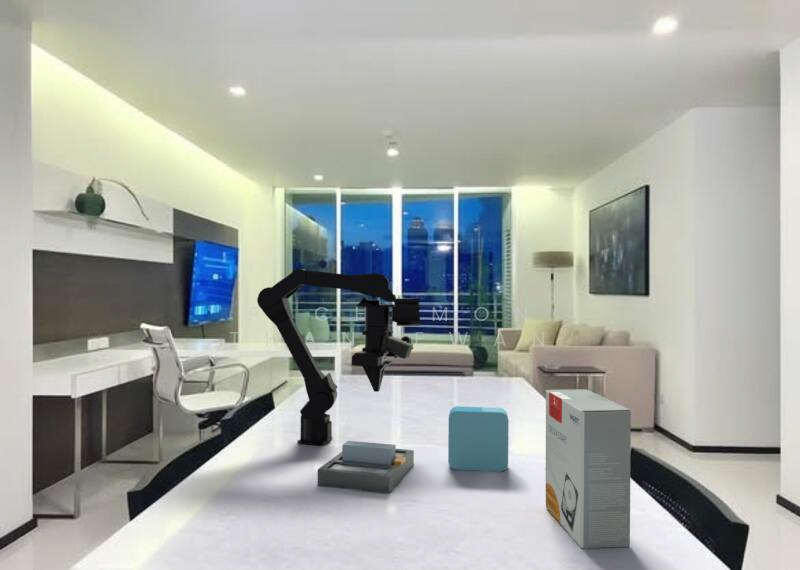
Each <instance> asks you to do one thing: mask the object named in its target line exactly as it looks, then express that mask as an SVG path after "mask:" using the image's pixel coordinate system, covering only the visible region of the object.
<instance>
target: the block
mask: <svg viewBox="0 0 800 570" xmlns="http://www.w3.org/2000/svg"><path fill="white" fill-rule="evenodd" d="M396 446H397V445H396V444H388V443H377V442H368V441H367V442H366V441H354V440H347V441H345V442H344V443H343V444H342V449H341V450H342V451H341V452H342V460H345V461H355V462H365V463H376V464H386V465H394V464H393V461H394V460H395V457H396V449H397V447H396Z"/></svg>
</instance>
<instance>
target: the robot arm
mask: <svg viewBox="0 0 800 570" xmlns="http://www.w3.org/2000/svg"><path fill="white" fill-rule="evenodd" d="M303 286H311V287H312V286H313V287H318V288H319V287H322V288H328V289H329V288H330V289H339V290H346V291H352V292H354V293H359V294H362V295H365V296H363V297H362V299H361V301H359V302H358V303H356V306H357V307H358V308H365V309H364V313H365V315H364V317H365V318H364V330H362V333H361V334H362V336H364V347H362V349H361V350H359V351H357V352H355V353H354V354H353V355H352V356H351V366H358V367H359V366H361V367H362V369H363V371H364V372H365V375H366V377H367V379H368V382H369V383H370V385H371V388H372V390H373V392H376V393H377V392H380V391H381V390H380V389H381V385H382V382H383V378H384V375H385V371H386V368H388V366H389V365H391V364H392V363H393V360H388V358H389V357H393V358H394V359H397V358H400V359H403V360H405V359H407V358H410V355H411V354H412V353H411V352H412V350H413V349H414V343H412V338H411V337H410V336H407V335H404V336H403V337H401V338H400V337H395V336H393V335H394V333H393V330H392V329H390V308H391V322H393V323H396V327H420V326H421V310H420V298H419V297H412V298H410V297H409V298H397V297H396V294H394V293H393V292H392V290H391V289H390V282H389V279H388V277H387V276H386V275H383V274H381V273H377V272H376V273H361V274H345V273H335V272H327V271H326V272H325V271H318V270H317V271H316V270H307V269H304V268H295V269H294V270H292V271H291V273H289V274H288V275H287V276H286V277H284V278H282V279H281V280H279V281H278V282H276V283H275V284H274V285H272V286H271V287H270V286H269V287H265V288H262V289H261V291H260V292H259V293H258V296H257V298H256V302H257V305H258V306H259V308H260V309H261V310H262V311H263V313H264V314H265V316H266V317H267V318H268V319H269V320H270V322H272V323H273V324H274V325H275V326H276V327H277V330H278V332H279V333H280V335H281V337H282V340H283V341H284V343H285V345H286V347H287V349H288V351H289V353H290V355H291V357H292V358H293V360H294V362H295V364H296V366H297V368H298V370H299V371H300V373H301V375H302V378H303V381H304V385H305V391H306V395H307V397H308V401H307V402H306V403H305V404H304V406H302V408H300V439H298V440H297V441H296V442H297V444H302V445H303V444H304V445H314V446H323V445H325V444H327V443H328V442H330V441H331V440H332V439H333V436H332V434H333V433H332V431H333V430H332V429H333V428H332V425H333V424H332V423H333V422H332V421H331V415H330V414H327V413H328V411H329V410H331V409H332V407H333V406H334V404H335V403H336V401H337V398H338V391H337V389H338V385H337V384H335V381H334V380H333V377H332V374H331V372H328V373H327V374H324V373H323V372H322V370H320V368H319V365H318V364H317V363H316V361H315V358H314V357H313V354H312V353H311V351H310V350H309V347H308V345H307V343H306V341H305V340H304V338H303V336H302V334H301V332H300V330H299V328H298V327H297V324H296V322H295V321H294V318H293V315H292V310H291V305H290V302H289V298H291V297H292V296H293V295H294V294H295V293H297V291H299V290H300V289H301V288H302V287H303ZM366 296H368V297H371V298H377V299H368V298H367V297H366ZM378 298H381V299H382V300H384V301H385V302H387V303H393V304H385V303H384V304H382V303H381V300H380V299H378Z"/></svg>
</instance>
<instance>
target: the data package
mask: <svg viewBox="0 0 800 570" xmlns="http://www.w3.org/2000/svg"><path fill="white" fill-rule="evenodd" d="M447 443H448V445H447V446H448V450H447V451H448V454H447V455H448V456H447V460H448V465H449V467H450V468H452V469H453V470H458V471H476V472H477V471H478V472H479V471H481V472H499V473H500V472H505V471H506V470H507V468H508V467H509V416H508V413H507V411H506V410H505V409H504V408H501V407H485V406H483V407H482V406H462V405H461V406H460V405H459V406H457V405H456V406H453V407H452V408H451V409H450V410H449V414H448V442H447Z"/></svg>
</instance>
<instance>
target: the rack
mask: <svg viewBox="0 0 800 570" xmlns="http://www.w3.org/2000/svg"><path fill="white" fill-rule="evenodd" d="M414 452H415V451H414V449H403V448H396V457H395V460H394V461H393V464H394V465H386V464H376V463H365V462H355V461H345V460H342V451H341V452H339V453H338V454H337V455H335V456H334V457H332V458H331V459H329V460H328V461H327V462H325V463H324V464H323V465H322V466H320V467H318V468H317V486H318V487H326V488H336V489H344V490H353V491H363V492H372V493H379V494H380V493H381V494H387V495H388V494H390V493H392V491H393V490H394V489H395V487H396V486H397V485H398V484H399V482H401V480H403V478H404V477H405V476H406V475H407V474H408V472H409V471H410V470H411V468H412V467H413V466H414V463H415V461H414V460H415V453H414Z"/></svg>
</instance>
